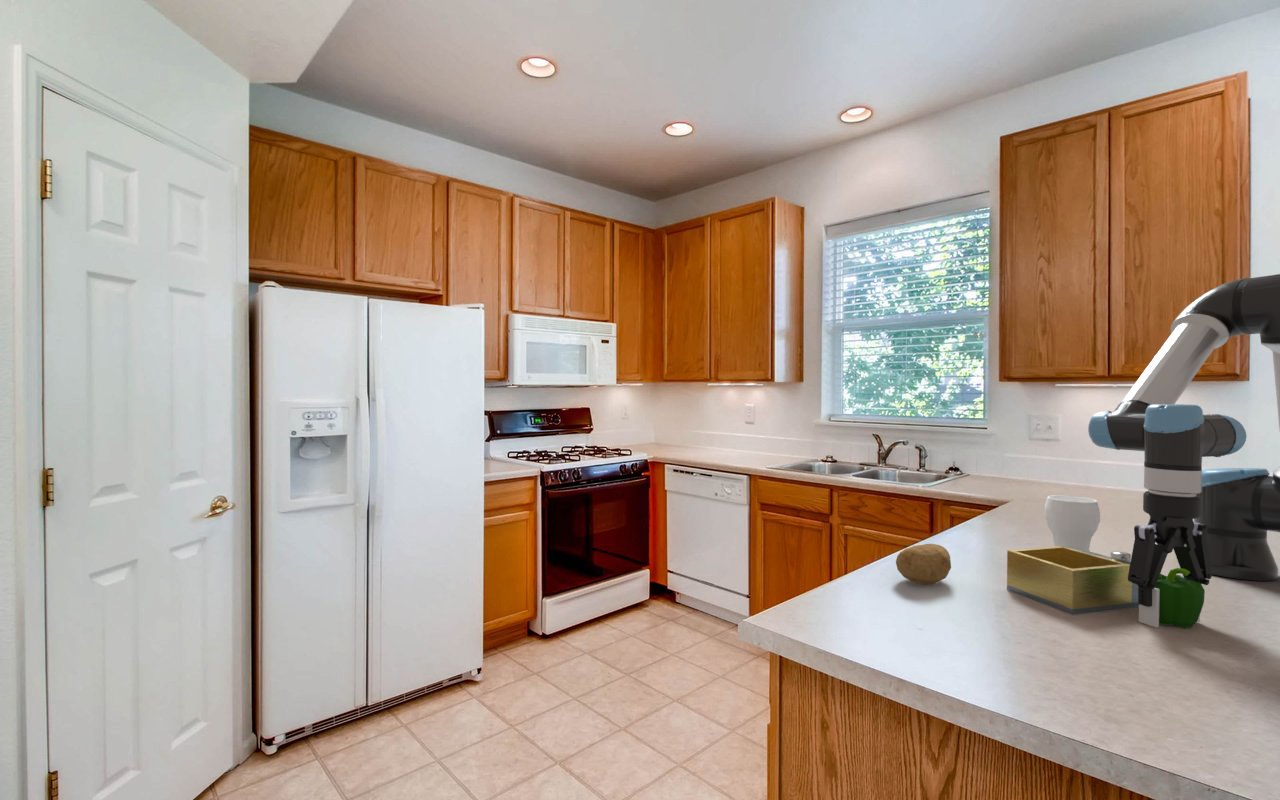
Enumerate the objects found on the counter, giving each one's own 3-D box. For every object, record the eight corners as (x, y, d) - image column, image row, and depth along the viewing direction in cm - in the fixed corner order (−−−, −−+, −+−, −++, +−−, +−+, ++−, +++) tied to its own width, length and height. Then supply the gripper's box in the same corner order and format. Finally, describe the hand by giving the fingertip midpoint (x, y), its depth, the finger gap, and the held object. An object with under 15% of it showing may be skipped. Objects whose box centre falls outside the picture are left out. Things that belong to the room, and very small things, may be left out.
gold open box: (1080, 582, 125) (1080, 539, 125) (1151, 605, 112) (1152, 557, 112) (1006, 589, 121) (1007, 545, 121) (1072, 614, 107) (1073, 565, 107)
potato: (963, 581, 126) (964, 544, 126) (931, 595, 117) (932, 555, 117) (918, 570, 133) (918, 535, 133) (885, 583, 125) (885, 545, 125)
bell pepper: (1126, 613, 108) (1126, 558, 108) (1172, 614, 108) (1173, 559, 108) (1165, 632, 100) (1166, 573, 99) (1216, 633, 99) (1217, 573, 99)
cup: (1109, 570, 134) (1110, 503, 134) (1056, 567, 136) (1057, 502, 136) (1084, 557, 144) (1085, 495, 144) (1035, 554, 146) (1036, 494, 146)
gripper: (1192, 487, 109) (1190, 608, 110) (1102, 491, 104) (1099, 619, 105) (1242, 493, 102) (1239, 624, 103) (1148, 499, 97) (1145, 636, 97)
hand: (1169, 621), depth 104 cm, fingers open, 9 cm apart
